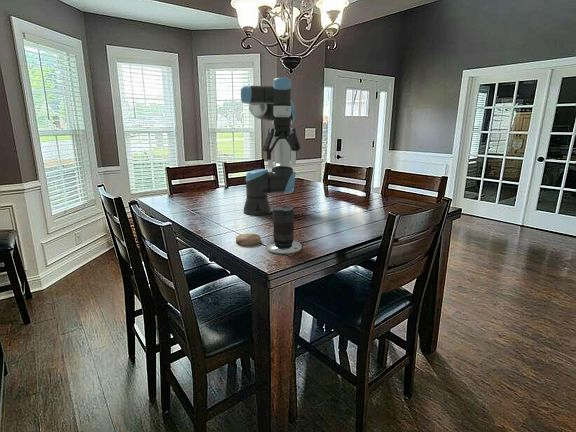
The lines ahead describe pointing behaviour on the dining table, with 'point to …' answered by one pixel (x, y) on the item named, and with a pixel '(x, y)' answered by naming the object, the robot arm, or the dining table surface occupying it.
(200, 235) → the dining table surface
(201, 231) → the dining table surface
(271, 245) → the mount flange
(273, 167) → the robot arm
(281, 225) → the camera lens
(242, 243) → the walnut coaster
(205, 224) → the dining table surface
